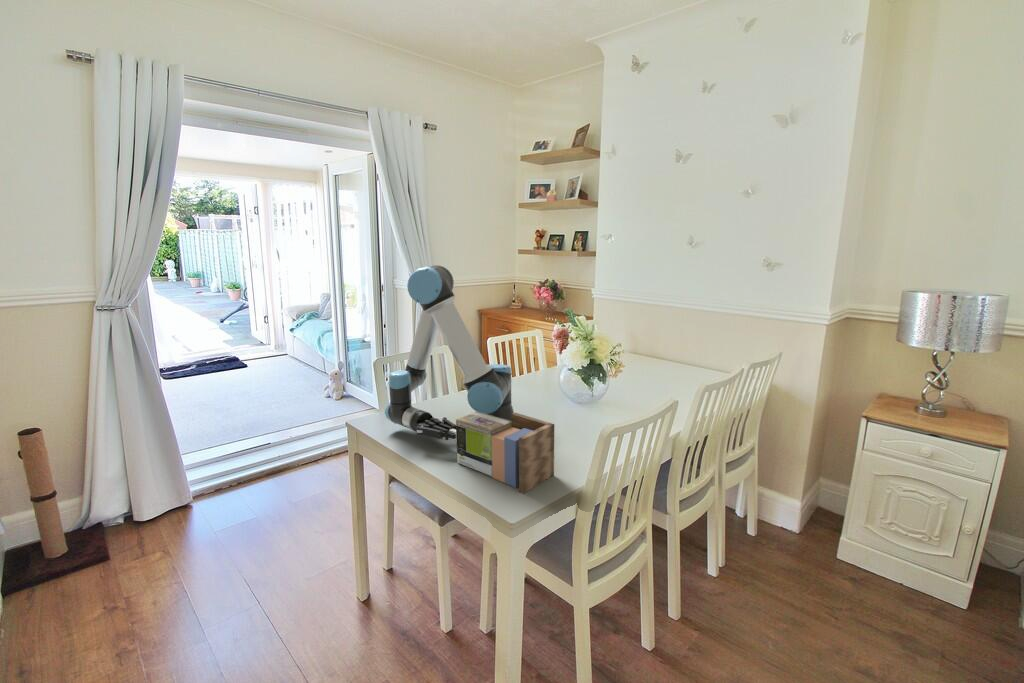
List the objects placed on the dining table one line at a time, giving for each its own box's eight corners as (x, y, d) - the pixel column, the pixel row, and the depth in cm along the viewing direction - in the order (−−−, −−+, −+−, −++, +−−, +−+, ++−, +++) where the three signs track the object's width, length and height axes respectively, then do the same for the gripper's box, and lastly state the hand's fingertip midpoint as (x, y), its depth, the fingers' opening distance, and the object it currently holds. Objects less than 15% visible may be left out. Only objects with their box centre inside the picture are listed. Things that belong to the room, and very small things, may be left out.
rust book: (511, 466, 146) (511, 426, 144) (524, 471, 143) (524, 430, 140) (492, 477, 139) (491, 436, 137) (505, 482, 136) (504, 440, 134)
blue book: (524, 471, 143) (524, 427, 140) (534, 475, 140) (535, 431, 138) (504, 483, 136) (504, 437, 133) (515, 487, 134) (515, 441, 131)
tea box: (513, 465, 147) (513, 420, 144) (491, 477, 139) (490, 430, 136) (478, 452, 156) (477, 409, 153) (456, 463, 149) (454, 418, 146)
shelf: (515, 460, 150) (515, 412, 147) (553, 475, 141) (554, 424, 137) (484, 476, 140) (483, 425, 137) (523, 493, 130) (523, 439, 127)
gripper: (433, 425, 171) (479, 443, 156) (403, 436, 162) (449, 456, 146) (432, 405, 170) (479, 421, 155) (402, 415, 160) (448, 433, 145)
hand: (464, 438), depth 151 cm, fingers closed
